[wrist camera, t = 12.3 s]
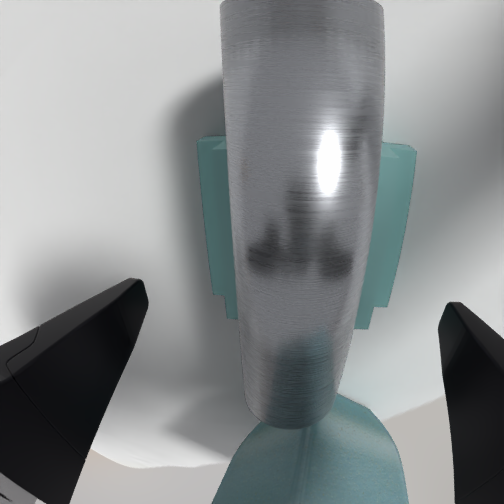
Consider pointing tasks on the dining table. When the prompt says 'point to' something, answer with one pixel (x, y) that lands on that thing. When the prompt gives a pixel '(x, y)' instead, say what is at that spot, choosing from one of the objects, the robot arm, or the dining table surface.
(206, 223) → the cradle
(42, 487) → the robot arm
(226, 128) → the axle
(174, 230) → the dining table surface
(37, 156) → the dining table surface
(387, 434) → the flower pot
